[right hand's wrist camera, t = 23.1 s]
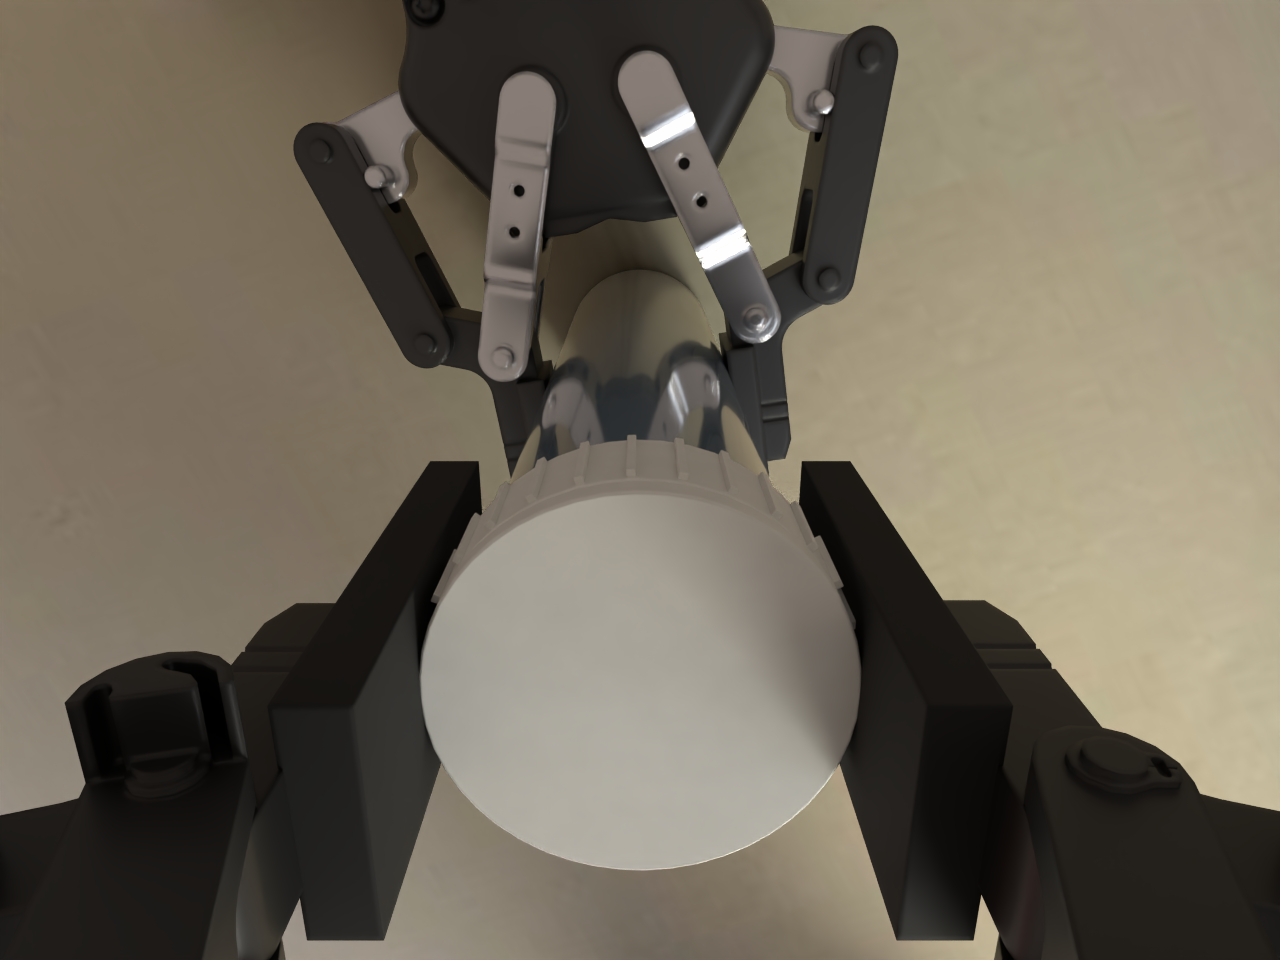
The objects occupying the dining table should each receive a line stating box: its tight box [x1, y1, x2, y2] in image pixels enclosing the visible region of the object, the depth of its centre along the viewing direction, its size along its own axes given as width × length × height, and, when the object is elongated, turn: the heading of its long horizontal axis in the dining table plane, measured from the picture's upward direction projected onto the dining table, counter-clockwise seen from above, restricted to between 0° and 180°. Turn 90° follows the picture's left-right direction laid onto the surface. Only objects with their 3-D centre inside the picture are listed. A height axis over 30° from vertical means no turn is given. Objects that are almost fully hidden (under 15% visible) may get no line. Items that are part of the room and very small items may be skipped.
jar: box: [509, 269, 772, 485], centre depth 20 cm, size 4×4×20 cm
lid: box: [419, 435, 862, 870], centre depth 11 cm, size 5×5×2 cm
